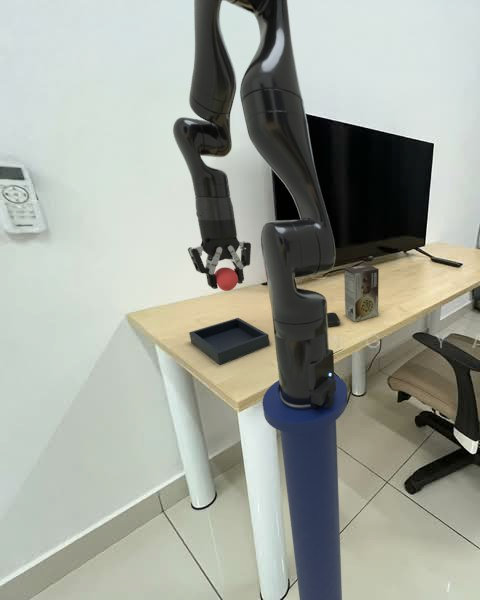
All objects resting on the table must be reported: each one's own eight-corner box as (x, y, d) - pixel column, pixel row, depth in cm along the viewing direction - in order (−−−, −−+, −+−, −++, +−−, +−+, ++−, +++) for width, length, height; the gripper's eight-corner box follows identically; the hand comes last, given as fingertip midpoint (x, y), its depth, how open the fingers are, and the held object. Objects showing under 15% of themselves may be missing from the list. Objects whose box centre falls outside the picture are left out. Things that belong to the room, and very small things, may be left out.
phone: (340, 321, 94) (288, 328, 88) (340, 325, 94) (288, 331, 88) (335, 312, 100) (286, 317, 95) (335, 315, 101) (286, 320, 95)
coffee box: (367, 309, 107) (367, 263, 101) (378, 315, 102) (379, 268, 97) (344, 315, 101) (343, 267, 95) (355, 322, 97) (354, 272, 91)
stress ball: (243, 286, 84) (231, 265, 83) (242, 283, 76) (228, 260, 75) (224, 295, 82) (211, 274, 81) (220, 293, 74) (206, 269, 73)
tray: (269, 345, 81) (268, 334, 80) (219, 365, 72) (217, 353, 71) (239, 327, 90) (238, 317, 89) (191, 342, 81) (188, 332, 79)
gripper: (188, 220, 65) (203, 296, 71) (254, 216, 76) (262, 282, 82) (174, 217, 69) (189, 288, 75) (238, 214, 80) (247, 276, 86)
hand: (227, 285), depth 79 cm, fingers closed on stress ball, 5 cm apart
